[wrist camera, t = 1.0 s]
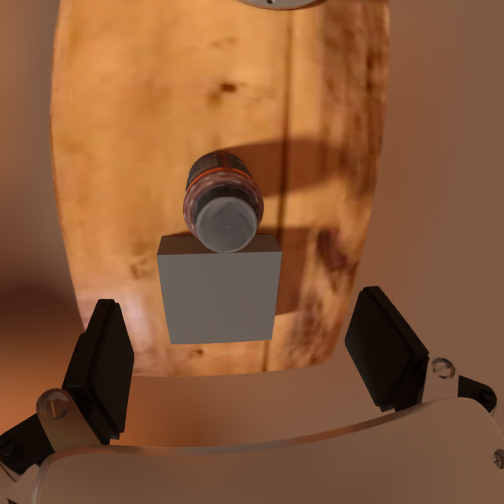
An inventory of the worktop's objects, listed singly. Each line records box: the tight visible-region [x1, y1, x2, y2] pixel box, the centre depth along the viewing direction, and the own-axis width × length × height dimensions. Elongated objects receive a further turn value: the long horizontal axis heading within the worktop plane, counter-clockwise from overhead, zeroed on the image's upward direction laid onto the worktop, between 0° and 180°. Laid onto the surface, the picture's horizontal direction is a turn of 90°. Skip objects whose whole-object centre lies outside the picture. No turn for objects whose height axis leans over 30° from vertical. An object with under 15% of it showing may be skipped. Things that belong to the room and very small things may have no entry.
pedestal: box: [157, 234, 282, 344], centre depth 32 cm, size 12×12×4 cm
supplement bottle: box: [183, 152, 264, 253], centre depth 23 cm, size 6×6×11 cm
